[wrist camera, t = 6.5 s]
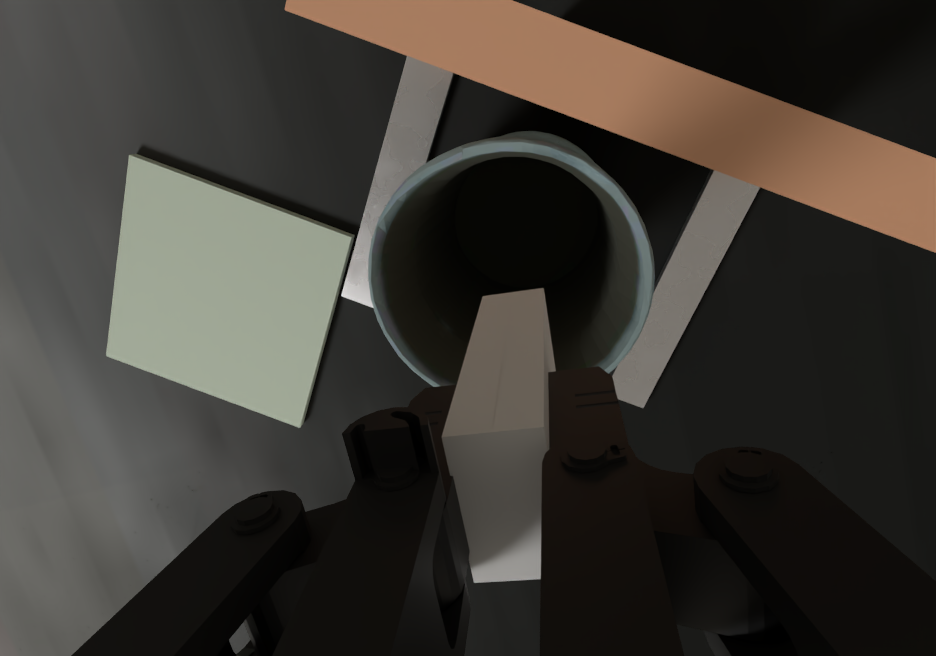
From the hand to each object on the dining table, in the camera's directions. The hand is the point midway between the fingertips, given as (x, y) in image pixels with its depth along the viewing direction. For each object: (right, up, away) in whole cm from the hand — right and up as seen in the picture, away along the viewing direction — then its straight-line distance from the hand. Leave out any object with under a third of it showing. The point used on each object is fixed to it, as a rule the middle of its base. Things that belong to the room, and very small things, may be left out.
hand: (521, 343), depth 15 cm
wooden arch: (+5, +12, +15) cm, 20 cm away
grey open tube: (+2, +6, +18) cm, 19 cm away
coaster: (-16, +2, +22) cm, 27 cm away
